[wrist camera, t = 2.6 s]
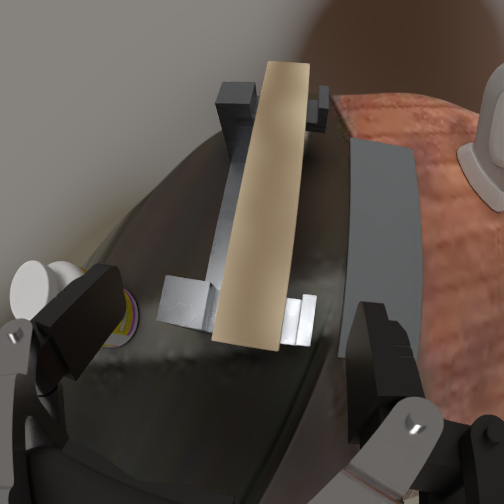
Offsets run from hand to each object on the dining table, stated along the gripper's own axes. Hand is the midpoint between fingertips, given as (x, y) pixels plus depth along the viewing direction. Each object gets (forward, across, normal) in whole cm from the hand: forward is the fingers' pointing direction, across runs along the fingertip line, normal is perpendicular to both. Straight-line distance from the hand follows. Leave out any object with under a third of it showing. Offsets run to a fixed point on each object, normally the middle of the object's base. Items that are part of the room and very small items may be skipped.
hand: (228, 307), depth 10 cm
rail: (+14, 0, 0) cm, 14 cm away
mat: (+21, -11, +6) cm, 24 cm away
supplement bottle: (+12, +16, +14) cm, 24 cm away
